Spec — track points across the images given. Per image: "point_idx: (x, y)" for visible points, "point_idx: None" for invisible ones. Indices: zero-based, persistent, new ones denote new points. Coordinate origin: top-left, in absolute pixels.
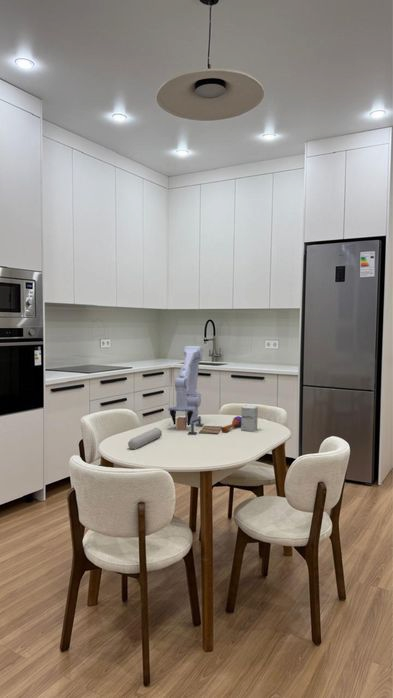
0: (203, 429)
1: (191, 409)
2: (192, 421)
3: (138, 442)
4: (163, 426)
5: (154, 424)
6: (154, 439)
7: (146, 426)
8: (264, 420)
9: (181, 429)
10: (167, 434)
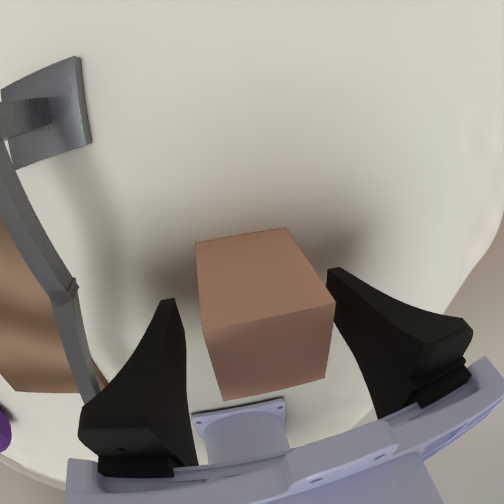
0: (31, 295)
1: (106, 499)
2: (48, 280)
3: None
4: (403, 289)
5: (445, 306)
6: None
7: (482, 245)
8: (18, 462)
9: (232, 238)
10: (316, 4)
